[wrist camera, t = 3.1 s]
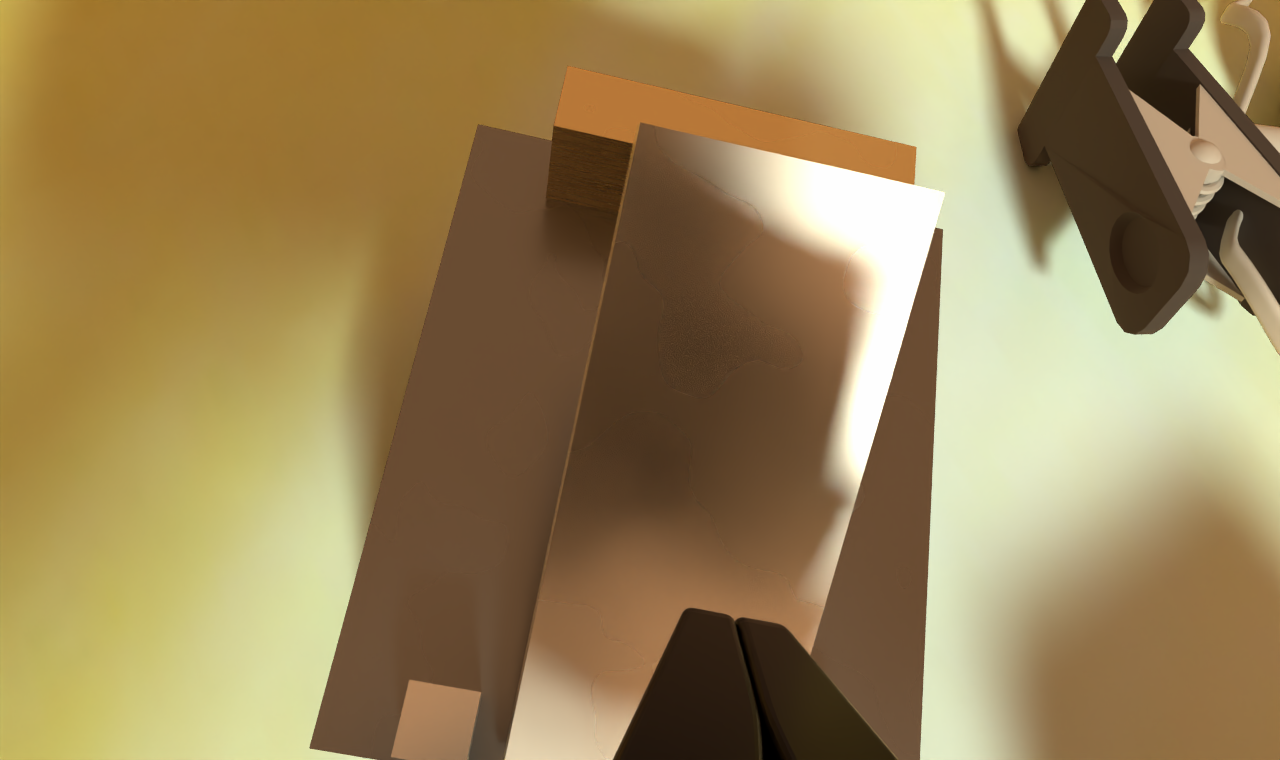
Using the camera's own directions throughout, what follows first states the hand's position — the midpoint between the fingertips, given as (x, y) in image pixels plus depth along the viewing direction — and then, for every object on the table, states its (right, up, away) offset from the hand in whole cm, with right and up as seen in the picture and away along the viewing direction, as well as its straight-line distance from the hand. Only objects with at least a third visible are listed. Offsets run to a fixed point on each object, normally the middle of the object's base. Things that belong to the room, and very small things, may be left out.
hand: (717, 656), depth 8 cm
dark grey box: (-1, -1, +11) cm, 11 cm away
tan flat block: (0, +1, +3) cm, 3 cm away
